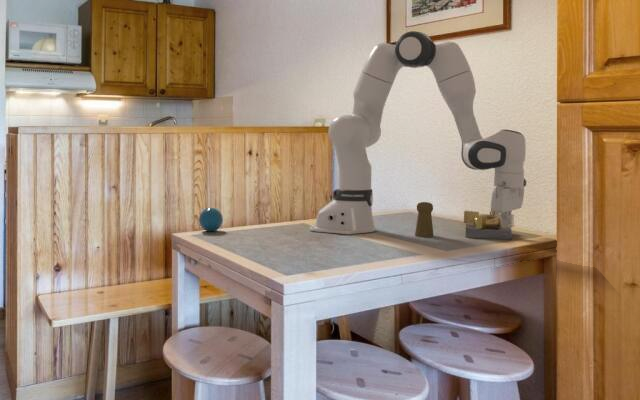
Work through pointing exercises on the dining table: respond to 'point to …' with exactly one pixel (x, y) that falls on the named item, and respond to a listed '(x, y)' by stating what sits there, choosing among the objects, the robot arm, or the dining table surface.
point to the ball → (210, 219)
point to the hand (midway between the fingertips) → (505, 224)
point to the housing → (488, 232)
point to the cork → (424, 220)
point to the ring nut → (486, 219)
